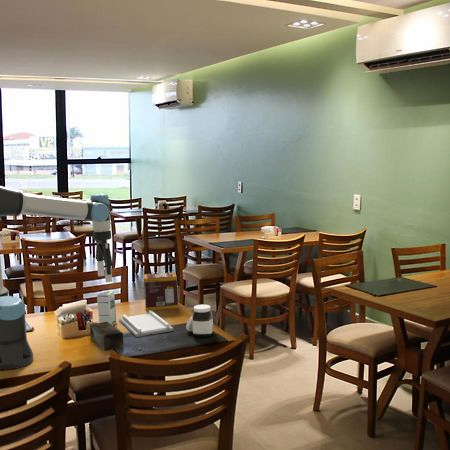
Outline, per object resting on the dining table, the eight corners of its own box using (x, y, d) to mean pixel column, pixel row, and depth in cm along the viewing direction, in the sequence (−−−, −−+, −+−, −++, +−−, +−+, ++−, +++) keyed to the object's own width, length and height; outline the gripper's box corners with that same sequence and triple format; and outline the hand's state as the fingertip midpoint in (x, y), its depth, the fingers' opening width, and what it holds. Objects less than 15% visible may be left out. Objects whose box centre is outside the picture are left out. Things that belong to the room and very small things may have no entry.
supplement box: (144, 305, 277) (143, 274, 275) (176, 302, 280) (174, 271, 278) (145, 310, 267) (144, 278, 265) (178, 308, 270) (177, 276, 268)
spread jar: (209, 339, 224) (208, 310, 223) (182, 338, 227) (180, 309, 225) (216, 329, 236) (215, 302, 235) (189, 328, 238) (188, 301, 237)
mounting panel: (173, 330, 236) (173, 324, 236) (136, 337, 229) (135, 330, 229) (153, 315, 259) (153, 309, 259) (119, 320, 253) (119, 314, 252)
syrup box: (111, 326, 244) (109, 294, 242) (98, 326, 245) (96, 293, 243) (116, 322, 250) (114, 290, 248) (104, 322, 251) (102, 290, 249)
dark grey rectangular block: (108, 334, 234) (108, 319, 233) (124, 348, 218) (123, 331, 217) (89, 338, 230) (89, 322, 230) (104, 352, 214) (103, 335, 213)
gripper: (118, 232, 232) (121, 283, 235) (103, 226, 255) (106, 272, 258) (100, 234, 229) (103, 285, 232) (86, 227, 252) (90, 274, 254)
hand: (105, 278), depth 245 cm, fingers open, 13 cm apart
